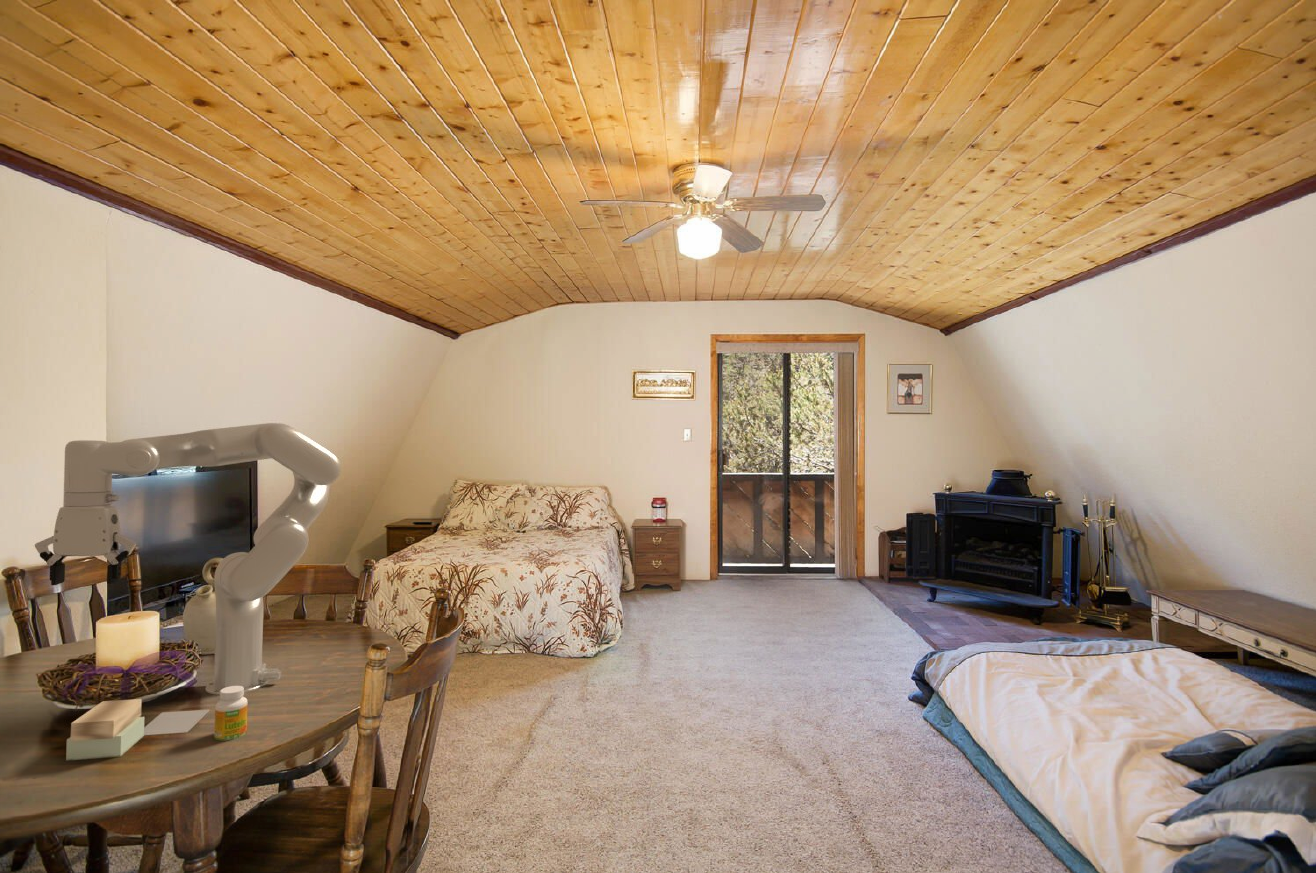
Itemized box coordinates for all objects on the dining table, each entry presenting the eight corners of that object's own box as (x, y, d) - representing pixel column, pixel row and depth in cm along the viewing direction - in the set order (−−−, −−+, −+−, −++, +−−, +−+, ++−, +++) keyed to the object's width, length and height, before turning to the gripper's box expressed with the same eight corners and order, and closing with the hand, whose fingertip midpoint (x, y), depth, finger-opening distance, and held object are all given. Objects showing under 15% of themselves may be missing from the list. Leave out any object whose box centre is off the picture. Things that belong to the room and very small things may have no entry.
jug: (210, 660, 175) (213, 564, 174) (167, 652, 179) (170, 559, 179) (261, 643, 189) (263, 555, 189) (220, 636, 194) (222, 550, 194)
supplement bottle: (222, 747, 128) (224, 696, 128) (208, 739, 131) (210, 690, 131) (252, 737, 133) (253, 688, 133) (238, 729, 135) (239, 682, 135)
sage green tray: (143, 739, 130) (144, 716, 130) (120, 760, 122) (121, 735, 122) (93, 743, 128) (93, 720, 128) (66, 764, 120) (66, 739, 120)
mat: (210, 713, 143) (210, 709, 143) (187, 736, 132) (187, 732, 132) (161, 716, 141) (161, 712, 141) (134, 739, 130) (134, 735, 130)
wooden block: (141, 715, 131) (141, 698, 131) (113, 738, 121) (113, 720, 121) (102, 717, 129) (102, 701, 129) (70, 741, 119) (71, 723, 119)
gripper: (145, 498, 143) (143, 578, 143) (49, 498, 139) (47, 580, 139) (126, 502, 136) (124, 586, 136) (25, 502, 132) (22, 588, 132)
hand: (85, 583), depth 138 cm, fingers open, 9 cm apart
